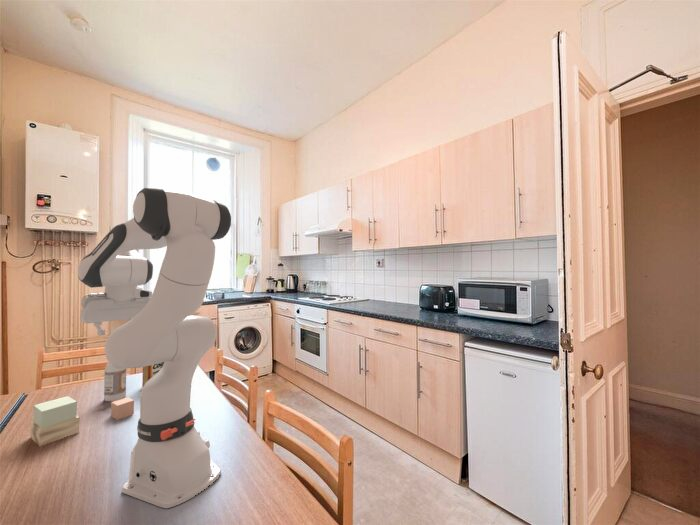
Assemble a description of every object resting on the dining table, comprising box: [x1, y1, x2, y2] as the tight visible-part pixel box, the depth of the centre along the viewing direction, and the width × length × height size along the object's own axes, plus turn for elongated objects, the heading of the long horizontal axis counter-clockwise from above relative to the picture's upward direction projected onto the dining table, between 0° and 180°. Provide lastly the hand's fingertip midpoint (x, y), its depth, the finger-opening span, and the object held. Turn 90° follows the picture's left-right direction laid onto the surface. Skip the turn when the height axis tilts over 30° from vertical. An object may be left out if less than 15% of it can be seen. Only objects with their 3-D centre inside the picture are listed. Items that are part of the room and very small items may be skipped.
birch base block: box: [30, 415, 81, 447], centre depth 95 cm, size 9×9×5 cm
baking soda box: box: [141, 362, 164, 388], centre depth 136 cm, size 10×6×16 cm
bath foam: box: [103, 361, 127, 402], centre depth 122 cm, size 7×7×20 cm
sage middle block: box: [32, 395, 78, 429], centre depth 95 cm, size 8×8×5 cm
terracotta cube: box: [110, 396, 135, 421], centre depth 108 cm, size 5×5×5 cm
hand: (117, 332), depth 103 cm, fingers open, 8 cm apart
